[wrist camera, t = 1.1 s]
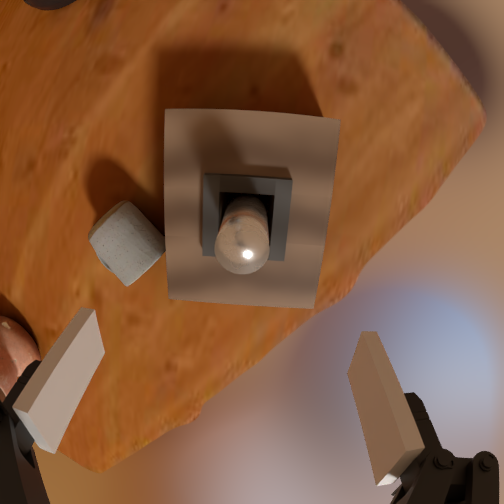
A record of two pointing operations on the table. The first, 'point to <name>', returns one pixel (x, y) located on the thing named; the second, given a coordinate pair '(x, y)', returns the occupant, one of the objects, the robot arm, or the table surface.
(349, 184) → the table surface
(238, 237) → the peg
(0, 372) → the ceramic jug
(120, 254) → the ceramic mug
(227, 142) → the socket block
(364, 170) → the table surface
